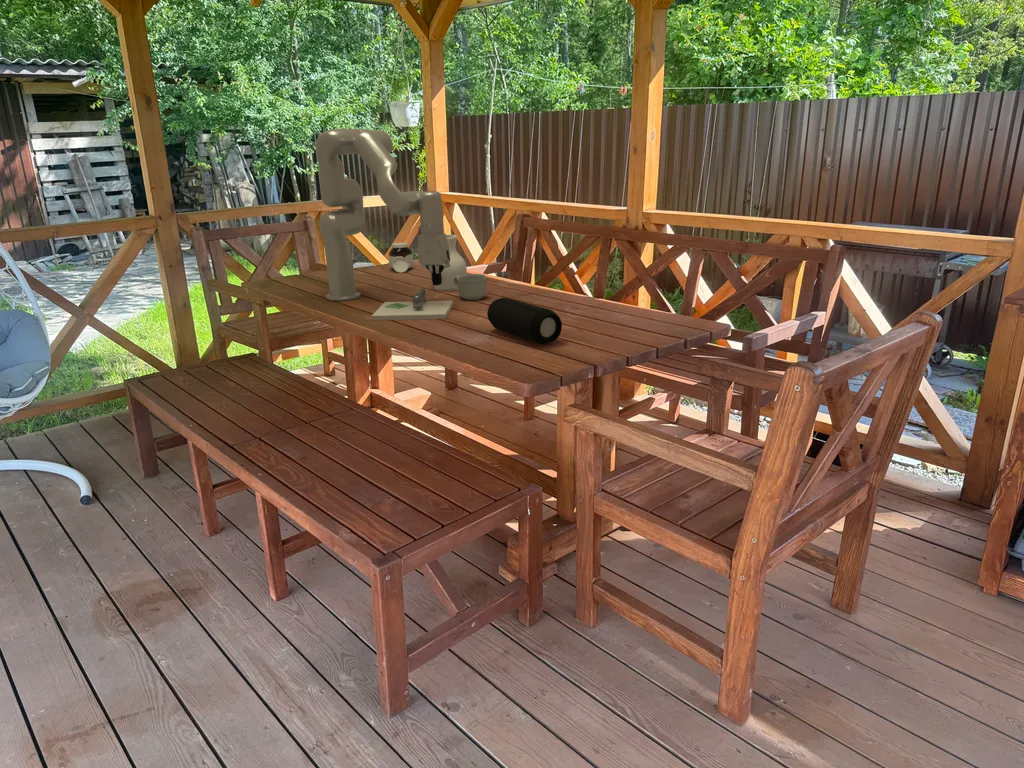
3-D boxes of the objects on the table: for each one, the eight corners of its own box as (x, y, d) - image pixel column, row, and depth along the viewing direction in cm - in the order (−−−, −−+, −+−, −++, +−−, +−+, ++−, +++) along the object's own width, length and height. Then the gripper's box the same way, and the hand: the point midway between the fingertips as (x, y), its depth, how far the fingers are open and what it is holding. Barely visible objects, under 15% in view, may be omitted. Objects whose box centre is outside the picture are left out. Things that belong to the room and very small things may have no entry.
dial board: (384, 306, 256) (384, 301, 255) (452, 304, 254) (452, 299, 254) (372, 320, 237) (371, 314, 236) (445, 318, 236) (445, 313, 235)
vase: (466, 291, 276) (463, 237, 269) (428, 292, 276) (424, 239, 270) (469, 283, 290) (466, 232, 283) (433, 284, 290) (429, 233, 283)
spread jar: (406, 267, 330) (404, 241, 326) (420, 270, 322) (418, 243, 318) (383, 271, 323) (381, 244, 319) (397, 274, 314) (395, 247, 311)
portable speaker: (564, 342, 205) (564, 307, 202) (536, 349, 200) (536, 313, 197) (512, 325, 225) (510, 293, 222) (485, 331, 220) (483, 298, 217)
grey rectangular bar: (419, 299, 254) (418, 287, 253) (428, 298, 254) (427, 287, 253) (412, 308, 240) (411, 296, 239) (421, 308, 240) (420, 296, 239)
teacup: (493, 298, 263) (492, 276, 260) (470, 303, 256) (469, 280, 254) (470, 292, 273) (468, 271, 270) (446, 297, 266) (445, 276, 264)
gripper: (407, 231, 242) (412, 286, 248) (446, 231, 236) (451, 287, 241) (419, 228, 248) (424, 281, 254) (457, 228, 242) (461, 283, 248)
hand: (437, 284), depth 248 cm, fingers closed
